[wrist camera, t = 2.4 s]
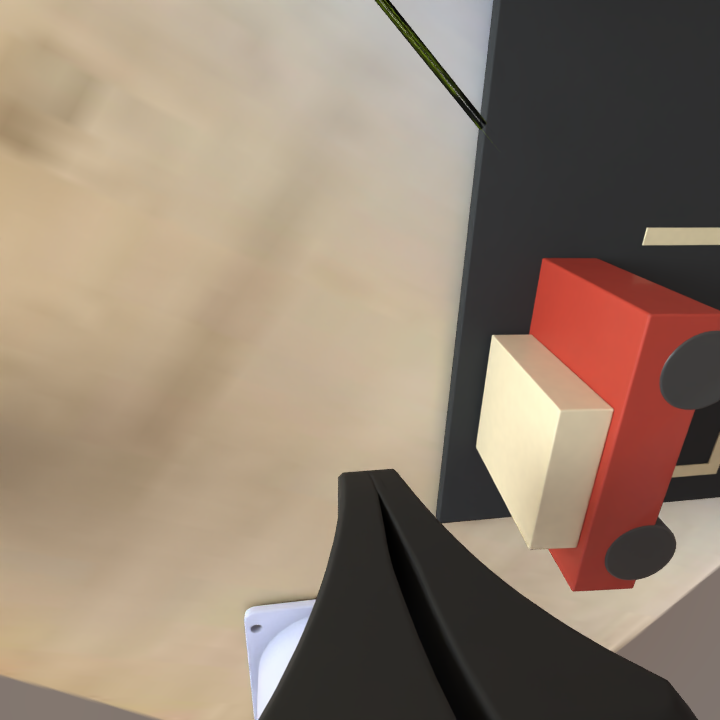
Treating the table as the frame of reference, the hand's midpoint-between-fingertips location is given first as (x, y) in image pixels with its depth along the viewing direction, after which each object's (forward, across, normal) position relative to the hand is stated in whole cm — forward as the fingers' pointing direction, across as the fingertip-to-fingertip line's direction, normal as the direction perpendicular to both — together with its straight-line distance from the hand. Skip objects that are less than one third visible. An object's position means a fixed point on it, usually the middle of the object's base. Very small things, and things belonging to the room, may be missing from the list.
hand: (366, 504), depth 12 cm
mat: (+7, -12, -3) cm, 14 cm away
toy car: (+6, -8, 0) cm, 10 cm away
